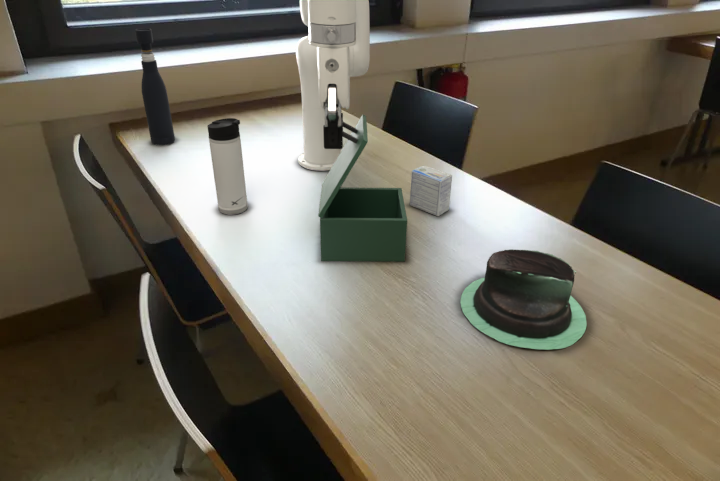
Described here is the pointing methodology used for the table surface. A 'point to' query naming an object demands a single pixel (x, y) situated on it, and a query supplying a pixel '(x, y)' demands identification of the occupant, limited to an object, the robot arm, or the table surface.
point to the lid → (343, 162)
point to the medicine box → (430, 190)
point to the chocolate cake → (526, 301)
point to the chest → (364, 225)
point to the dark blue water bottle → (154, 93)
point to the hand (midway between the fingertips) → (333, 140)
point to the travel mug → (228, 165)
